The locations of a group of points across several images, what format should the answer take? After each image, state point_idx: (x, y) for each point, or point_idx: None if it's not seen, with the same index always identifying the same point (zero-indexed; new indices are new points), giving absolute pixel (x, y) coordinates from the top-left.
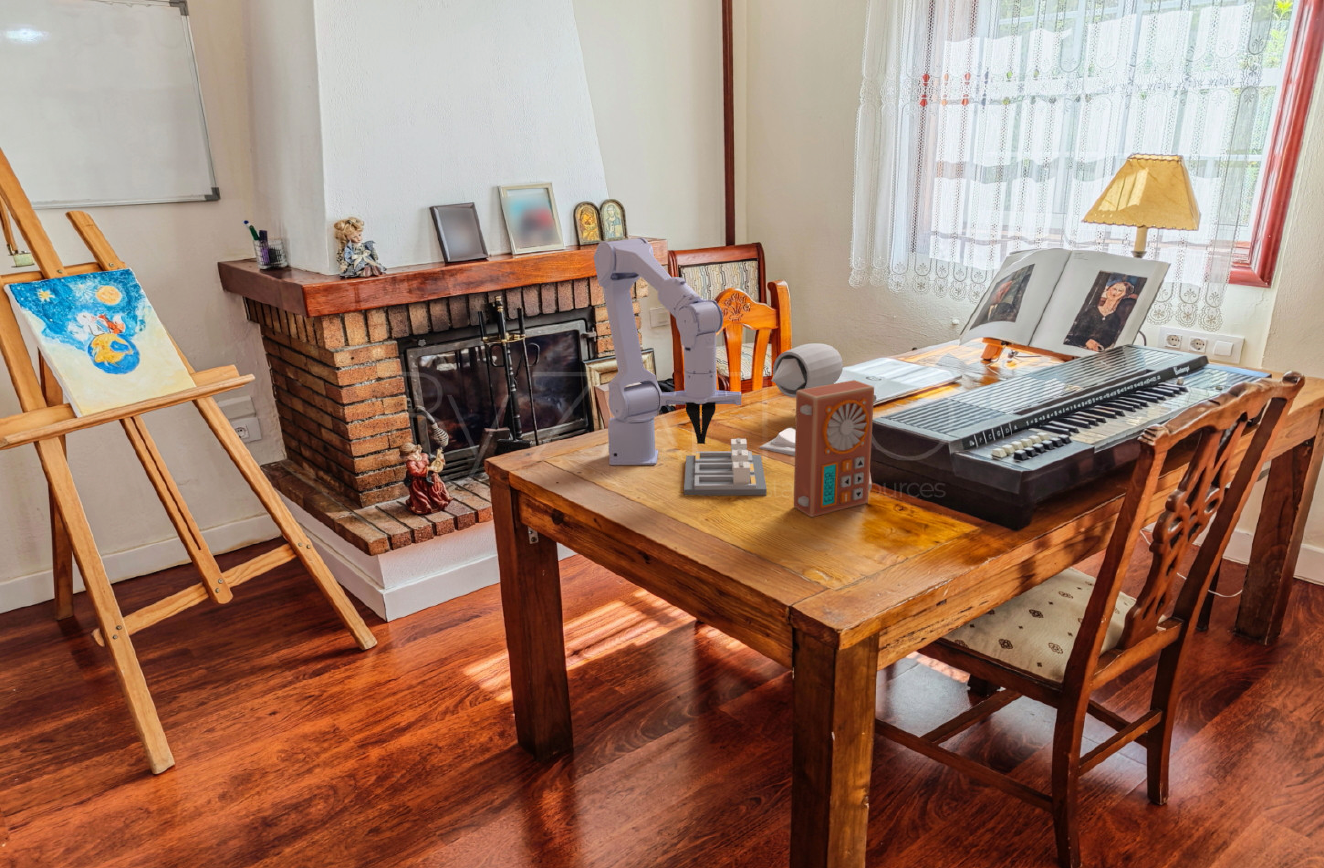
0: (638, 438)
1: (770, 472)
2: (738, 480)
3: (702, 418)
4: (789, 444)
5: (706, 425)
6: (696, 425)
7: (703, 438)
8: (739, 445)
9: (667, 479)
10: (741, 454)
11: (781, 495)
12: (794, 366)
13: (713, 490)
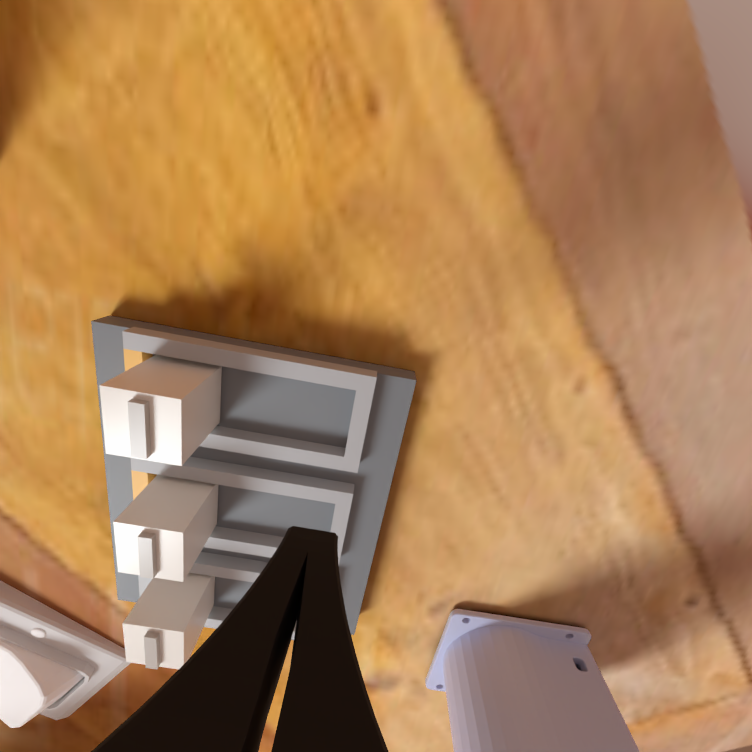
0: (530, 720)
1: (98, 499)
2: (190, 372)
3: (232, 748)
4: (27, 647)
5: (223, 647)
6: (324, 663)
7: (289, 551)
8: (155, 621)
9: (441, 509)
10: (142, 532)
11: (52, 303)
12: None
13: (304, 358)
